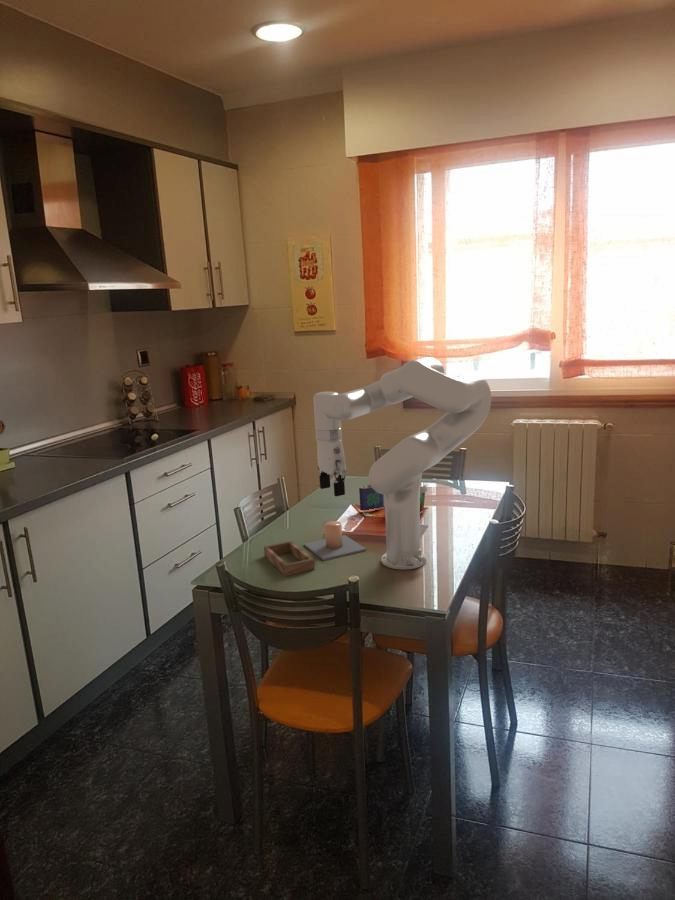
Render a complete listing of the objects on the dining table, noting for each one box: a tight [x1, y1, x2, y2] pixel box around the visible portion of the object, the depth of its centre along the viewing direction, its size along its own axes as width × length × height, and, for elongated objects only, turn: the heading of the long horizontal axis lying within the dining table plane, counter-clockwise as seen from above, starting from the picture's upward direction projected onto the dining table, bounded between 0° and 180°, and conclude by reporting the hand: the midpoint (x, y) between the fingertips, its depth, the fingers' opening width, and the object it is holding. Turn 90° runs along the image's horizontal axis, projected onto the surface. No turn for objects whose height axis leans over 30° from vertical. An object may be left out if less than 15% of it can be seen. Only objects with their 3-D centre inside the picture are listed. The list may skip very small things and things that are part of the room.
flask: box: [359, 483, 385, 510], centre depth 230 cm, size 9×3×11 cm, turn 114°
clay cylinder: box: [324, 520, 343, 549], centre depth 197 cm, size 5×5×7 cm
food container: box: [420, 484, 428, 512], centre depth 224 cm, size 12×6×10 cm, turn 76°
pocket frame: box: [263, 540, 315, 577], centre depth 188 cm, size 17×9×3 cm, turn 26°
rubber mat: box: [303, 534, 367, 561], centre depth 198 cm, size 14×14×1 cm
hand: (332, 491), depth 194 cm, fingers open, 9 cm apart
